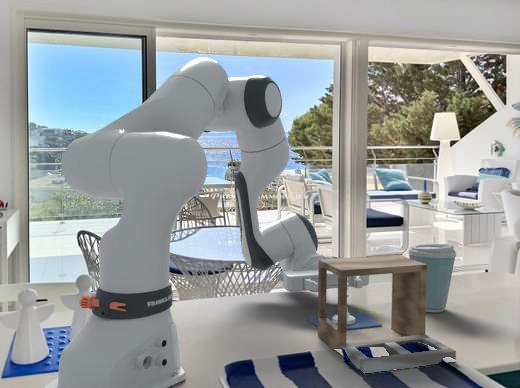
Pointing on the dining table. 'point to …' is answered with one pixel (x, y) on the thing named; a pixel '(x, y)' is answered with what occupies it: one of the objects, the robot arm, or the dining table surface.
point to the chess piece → (349, 318)
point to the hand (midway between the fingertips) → (339, 286)
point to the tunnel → (403, 312)
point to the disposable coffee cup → (435, 272)
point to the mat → (361, 322)
